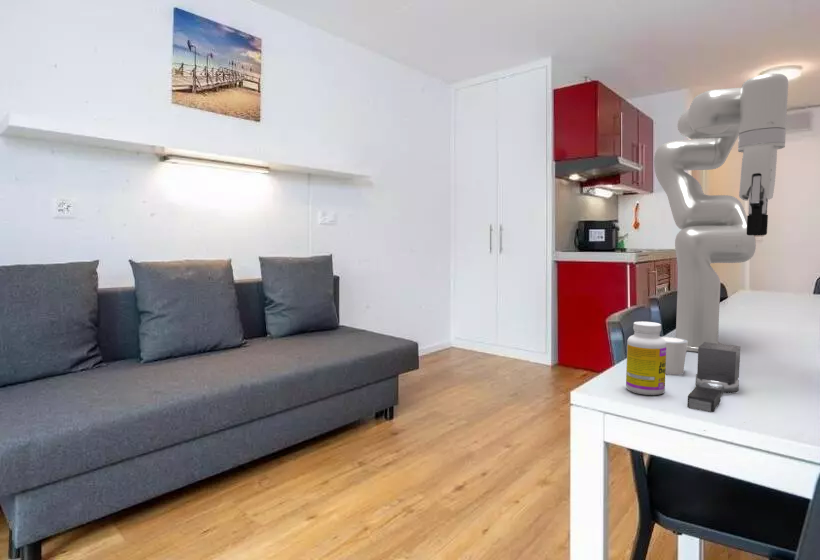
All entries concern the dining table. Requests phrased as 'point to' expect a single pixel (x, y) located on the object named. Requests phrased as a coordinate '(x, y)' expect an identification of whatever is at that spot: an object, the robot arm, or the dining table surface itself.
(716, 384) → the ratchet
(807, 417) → the dining table surface
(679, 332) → the robot arm
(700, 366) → the grey cube
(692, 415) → the dining table surface
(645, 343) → the supplement bottle
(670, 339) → the white cup
